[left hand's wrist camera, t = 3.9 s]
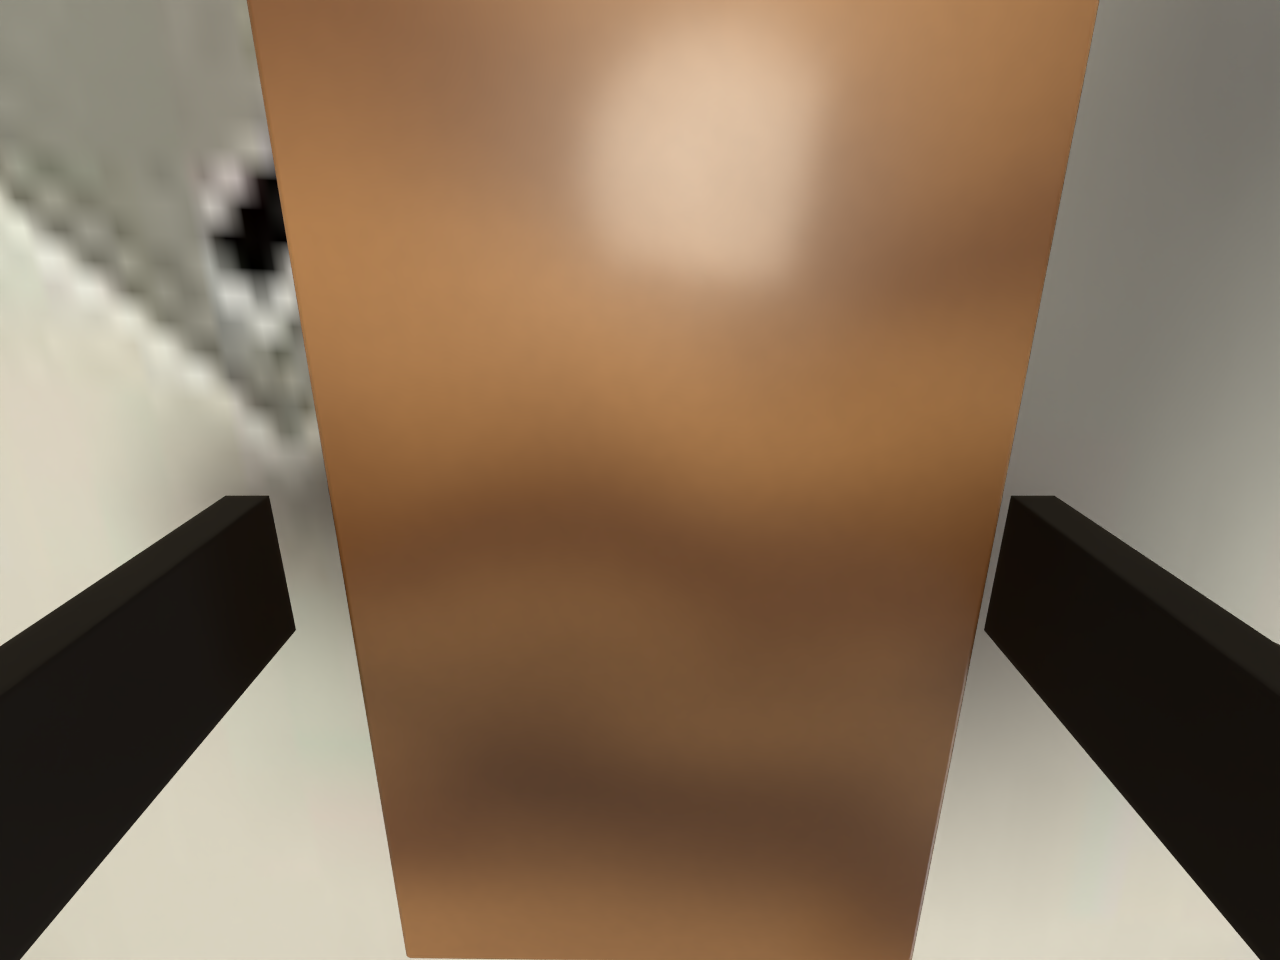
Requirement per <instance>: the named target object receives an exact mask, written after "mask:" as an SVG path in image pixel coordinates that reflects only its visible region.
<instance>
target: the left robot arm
mask: <svg viewBox="0 0 1280 960" xmlns="http://www.w3.org/2000/svg"><path fill="white" fill-rule="evenodd" d="M295 630H296V628H295V623H294V618H293V613H292V608H291V603H290V598H289V593H288V588H287V583H286V578H285V573H284V568H283V563H282V558H281V554H280V549H279V544H278V539H277V534H276V529H275V524H274V519H273V514H272V509H271V504H270V499H269V496H225V497H223V498H222V499H220V500H219V501H217V502H216V503H214V504H213V505H211V506H210V507H208V508H207V509H205V510H204V511H202V512H201V513H199V514H198V515H196V516H195V517H193V518H192V519H190V520H189V521H187V522H186V523H184V524H183V525H181V526H180V527H178V528H177V529H175V530H174V531H172V532H171V533H169V534H168V535H166V536H165V537H163V538H162V539H160V540H159V541H157V542H156V543H154V544H153V545H151V546H150V547H148V548H147V549H145V550H144V551H142V552H141V553H139V554H138V555H136V556H135V557H133V558H132V559H130V560H129V561H127V562H126V563H124V564H123V565H121V566H120V567H118V568H117V569H115V570H114V571H112V572H111V573H109V574H108V575H106V576H105V577H103V578H102V579H100V580H99V581H97V582H96V583H94V584H93V585H91V586H90V587H88V588H87V589H85V590H84V591H82V592H81V593H79V594H78V595H76V596H75V597H73V598H72V599H70V600H69V601H67V602H66V603H64V604H63V605H61V606H60V607H58V608H57V609H55V610H54V611H52V612H51V613H49V614H48V615H46V616H45V617H43V618H42V619H40V620H39V621H37V622H36V623H34V624H33V625H31V626H30V627H28V628H27V629H25V630H24V631H22V632H21V633H19V634H18V635H16V636H15V637H13V638H12V639H10V640H9V641H7V642H6V643H4V644H3V645H2V646H0V960H20V959H21V958H22V957H23V955H24V954H25V953H26V952H27V951H28V949H29V948H30V947H31V946H32V945H33V944H34V942H35V941H36V940H37V939H38V938H39V936H40V935H41V934H42V933H43V932H44V930H45V929H46V928H47V927H48V926H49V924H50V923H51V922H52V921H53V920H54V918H55V917H56V916H57V915H58V914H59V912H60V911H61V910H62V909H63V908H64V906H65V905H66V904H67V903H68V902H69V901H70V899H71V898H72V897H73V896H74V895H75V893H76V892H77V891H78V890H79V889H80V887H81V886H82V885H83V884H84V883H85V881H86V880H87V879H88V878H89V877H90V875H91V874H92V873H93V872H94V871H95V869H96V868H97V867H98V866H99V865H100V863H101V862H102V861H103V860H104V859H105V857H106V856H107V855H108V854H109V853H110V852H111V850H112V849H113V848H114V847H115V846H116V844H117V843H118V842H119V841H120V840H121V838H122V837H123V836H124V835H125V834H126V832H127V831H128V830H129V829H130V828H131V826H132V825H133V824H134V823H135V822H136V820H137V819H138V818H139V817H140V816H141V814H142V813H143V812H144V811H145V810H146V809H147V807H148V806H149V805H150V804H151V803H152V801H153V800H154V799H155V798H156V797H157V795H158V794H159V793H160V792H161V791H162V789H163V788H164V787H165V786H166V785H167V783H168V782H169V781H170V780H171V779H172V777H173V776H174V775H175V774H176V773H177V771H178V770H179V769H180V768H181V767H182V766H183V764H184V763H185V762H186V761H187V760H188V758H189V757H190V756H191V755H192V754H193V752H194V751H195V750H196V749H197V748H198V746H199V745H200V744H201V743H202V742H203V740H204V739H205V738H206V737H207V736H208V734H209V733H210V732H211V731H212V730H213V728H214V727H215V726H216V725H217V724H218V722H219V721H220V720H221V719H222V718H223V717H224V715H225V714H226V713H227V712H228V711H229V709H230V708H231V707H232V706H233V705H234V703H235V702H236V701H237V700H238V699H239V697H240V696H241V695H242V694H243V693H244V691H245V690H246V689H247V688H248V687H249V685H250V684H251V683H252V682H253V681H254V679H255V678H256V677H257V676H258V675H259V674H260V672H261V671H262V670H263V669H264V668H265V666H266V665H267V664H268V663H269V662H270V660H271V659H272V658H273V657H274V656H275V654H276V653H277V652H278V651H279V650H280V648H281V647H282V646H283V645H284V644H285V642H286V641H287V640H288V639H289V638H290V636H291V635H292V634H293V633H294V632H295ZM984 630H985V632H986V633H987V634H988V635H989V636H990V638H991V639H992V640H993V641H994V642H995V644H996V645H997V646H998V647H999V648H1000V650H1001V651H1002V652H1003V653H1004V654H1005V656H1006V657H1007V658H1008V659H1009V660H1010V662H1011V663H1012V664H1013V665H1014V666H1015V668H1016V669H1017V670H1018V671H1019V672H1020V674H1021V675H1022V676H1023V677H1024V678H1025V679H1026V681H1027V682H1028V683H1029V684H1030V685H1031V687H1032V688H1033V689H1034V690H1035V691H1036V693H1037V694H1038V695H1039V696H1040V697H1041V699H1042V700H1043V701H1044V702H1045V703H1046V705H1047V706H1048V707H1049V708H1050V709H1051V711H1052V712H1053V713H1054V714H1055V715H1056V717H1057V718H1058V719H1059V720H1060V721H1061V722H1062V724H1063V725H1064V726H1065V727H1066V728H1067V730H1068V731H1069V732H1070V733H1071V734H1072V736H1073V737H1074V738H1075V739H1076V740H1077V742H1078V743H1079V744H1080V745H1081V746H1082V748H1083V749H1084V750H1085V751H1086V752H1087V754H1088V755H1089V756H1090V757H1091V758H1092V760H1093V761H1094V762H1095V763H1096V764H1097V766H1098V767H1099V768H1100V769H1101V770H1102V771H1103V773H1104V774H1105V775H1106V776H1107V777H1108V779H1109V780H1110V781H1111V782H1112V783H1113V785H1114V786H1115V787H1116V788H1117V789H1118V791H1119V792H1120V793H1121V794H1122V795H1123V797H1124V798H1125V799H1126V800H1127V801H1128V803H1129V804H1130V805H1131V806H1132V807H1133V809H1134V810H1135V811H1136V812H1137V813H1138V814H1139V816H1140V817H1141V818H1142V819H1143V820H1144V822H1145V823H1146V824H1147V825H1148V826H1149V828H1150V829H1151V830H1152V831H1153V832H1154V834H1155V835H1156V836H1157V837H1158V838H1159V840H1160V841H1161V842H1162V843H1163V844H1164V846H1165V847H1166V848H1167V849H1168V850H1169V852H1170V853H1171V854H1172V855H1173V856H1174V857H1175V859H1176V860H1177V861H1178V862H1179V863H1180V865H1181V866H1182V867H1183V868H1184V869H1185V871H1186V872H1187V873H1188V874H1189V875H1190V877H1191V878H1192V879H1193V880H1194V881H1195V883H1196V884H1197V885H1198V886H1199V887H1200V889H1201V890H1202V891H1203V892H1204V893H1205V895H1206V896H1207V897H1208V898H1209V899H1210V901H1211V902H1212V903H1213V904H1214V905H1215V906H1216V908H1217V909H1218V910H1219V911H1220V912H1221V914H1222V915H1223V916H1224V917H1225V918H1226V920H1227V921H1228V922H1229V923H1230V924H1231V926H1232V927H1233V928H1234V929H1235V930H1236V932H1237V933H1238V934H1239V935H1240V936H1241V938H1242V939H1243V940H1244V941H1245V942H1246V944H1247V945H1248V946H1249V947H1250V948H1251V949H1252V951H1253V952H1254V953H1255V954H1256V955H1257V957H1258V958H1259V959H1260V960H1280V645H1279V644H1277V643H1275V642H1273V641H1271V640H1270V639H1268V638H1267V637H1265V636H1264V635H1262V634H1261V633H1259V632H1258V631H1256V630H1255V629H1253V628H1252V627H1250V626H1249V625H1247V624H1246V623H1244V622H1243V621H1241V620H1240V619H1238V618H1237V617H1235V616H1234V615H1232V614H1231V613H1229V612H1228V611H1226V610H1225V609H1223V608H1222V607H1220V606H1219V605H1217V604H1216V603H1214V602H1213V601H1211V600H1210V599H1208V598H1207V597H1205V596H1204V595H1202V594H1201V593H1199V592H1198V591H1196V590H1195V589H1193V588H1192V587H1190V586H1189V585H1187V584H1186V583H1184V582H1183V581H1181V580H1180V579H1178V578H1177V577H1175V576H1174V575H1172V574H1171V573H1169V572H1168V571H1166V570H1165V569H1163V568H1162V567H1160V566H1159V565H1157V564H1156V563H1154V562H1153V561H1151V560H1150V559H1148V558H1147V557H1145V556H1144V555H1142V554H1141V553H1139V552H1138V551H1136V550H1135V549H1133V548H1132V547H1130V546H1129V545H1127V544H1126V543H1124V542H1123V541H1121V540H1120V539H1118V538H1117V537H1115V536H1114V535H1112V534H1111V533H1109V532H1108V531H1106V530H1105V529H1103V528H1102V527H1100V526H1099V525H1097V524H1096V523H1094V522H1093V521H1091V520H1090V519H1088V518H1087V517H1085V516H1084V515H1082V514H1081V513H1079V512H1078V511H1076V510H1075V509H1073V508H1072V507H1070V506H1069V505H1067V504H1066V503H1064V502H1063V501H1061V500H1060V499H1058V498H1057V497H1055V496H1011V499H1010V504H1009V509H1008V514H1007V519H1006V524H1005V529H1004V534H1003V539H1002V544H1001V549H1000V554H999V558H998V563H997V568H996V573H995V578H994V583H993V588H992V593H991V598H990V603H989V608H988V613H987V618H986V623H985V628H984Z"/></svg>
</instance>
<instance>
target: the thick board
mask: <svg viewBox="0 0 1280 960" xmlns="http://www.w3.org/2000/svg"><path fill="white" fill-rule="evenodd" d="M247 4H248V10H249V16H250V22H251V28H252V34H253V40H254V46H255V52H256V58H257V64H258V70H259V76H260V82H261V88H262V94H263V100H264V106H265V112H266V118H267V123H268V129H269V135H270V141H271V147H272V153H273V159H274V165H275V171H276V177H277V183H278V189H279V195H280V201H281V207H282V213H283V219H284V225H285V231H286V237H287V243H288V249H289V255H290V261H291V267H292V273H293V279H294V285H295V291H296V297H297V303H298V309H299V315H300V321H301V327H302V333H303V339H304V345H305V351H306V357H307V363H308V369H309V375H310V381H311V387H312V392H313V398H314V404H315V410H316V416H317V422H318V428H319V434H320V440H321V446H322V452H323V458H324V464H325V470H326V476H327V482H328V488H329V494H330V500H331V506H332V512H333V518H334V524H335V530H336V536H337V542H338V548H339V554H340V560H341V566H342V572H343V578H344V584H345V590H346V596H347V602H348V608H349V614H350V620H351V626H352V632H353V638H354V644H355V650H356V656H357V661H358V667H359V673H360V679H361V685H362V691H363V697H364V703H365V709H366V715H367V721H368V727H369V733H370V739H371V745H372V751H373V757H374V763H375V769H376V775H377V781H378V787H379V793H380V799H381V805H382V811H383V817H384V823H385V829H386V835H387V841H388V847H389V853H390V859H391V865H392V871H393V877H394V883H395V889H396V895H397V901H398V907H399V913H400V919H401V924H402V930H403V936H404V942H405V948H406V954H407V956H408V957H409V958H449V959H529V960H912V956H913V951H914V946H915V941H916V936H917V930H918V925H919V920H920V915H921V910H922V905H923V900H924V895H925V889H926V884H927V879H928V874H929V869H930V864H931V859H932V854H933V849H934V843H935V838H936V833H937V828H938V823H939V818H940V813H941V808H942V803H943V797H944V792H945V787H946V782H947V777H948V772H949V767H950V762H951V756H952V751H953V746H954V741H955V736H956V731H957V726H958V721H959V716H960V710H961V705H962V700H963V695H964V690H965V685H966V680H967V675H968V670H969V664H970V659H971V654H972V649H973V644H974V639H975V634H976V629H977V623H978V618H979V613H980V608H981V603H982V598H983V593H984V588H985V583H986V577H987V572H988V567H989V562H990V557H991V552H992V547H993V542H994V537H995V531H996V526H997V521H998V516H999V511H1000V506H1001V501H1002V496H1003V490H1004V485H1005V480H1006V475H1007V470H1008V465H1009V460H1010V455H1011V450H1012V444H1013V439H1014V434H1015V429H1016V424H1017V419H1018V414H1019V409H1020V404H1021V398H1022V393H1023V388H1024V383H1025V378H1026V373H1027V368H1028V363H1029V357H1030V352H1031V347H1032V342H1033V337H1034V332H1035V327H1036V322H1037V317H1038V311H1039V306H1040V301H1041V296H1042V291H1043V286H1044V281H1045V276H1046V271H1047V265H1048V260H1049V255H1050V250H1051V245H1052V240H1053V235H1054V230H1055V225H1056V219H1057V214H1058V209H1059V204H1060V199H1061V194H1062V189H1063V184H1064V178H1065V173H1066V168H1067V163H1068V158H1069V153H1070V148H1071V143H1072V138H1073V132H1074V127H1075V122H1076V117H1077V112H1078V107H1079V102H1080V97H1081V92H1082V86H1083V81H1084V76H1085V71H1086V66H1087V61H1088V56H1089V51H1090V45H1091V40H1092V35H1093V30H1094V25H1095V20H1096V15H1097V10H1098V5H1099V0H247Z"/></svg>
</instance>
